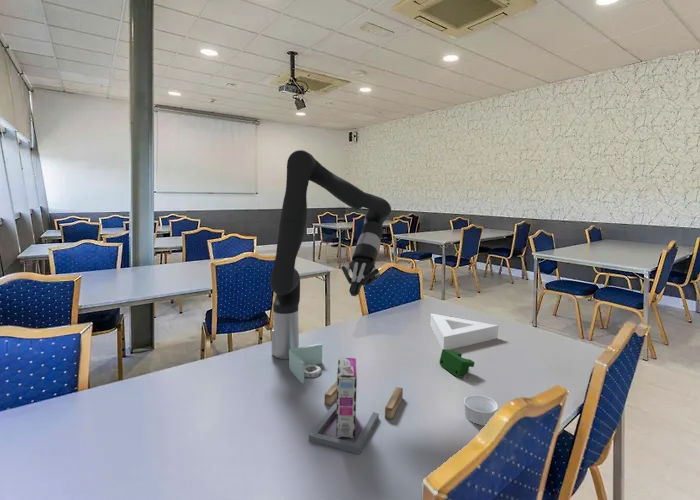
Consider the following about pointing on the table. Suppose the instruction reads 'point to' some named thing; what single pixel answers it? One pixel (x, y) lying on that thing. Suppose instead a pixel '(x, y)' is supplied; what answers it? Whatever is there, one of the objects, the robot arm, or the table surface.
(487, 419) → the ramekin
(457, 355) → the clamp
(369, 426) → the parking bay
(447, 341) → the triangle block
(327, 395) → the oak rails
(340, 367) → the candy bar box
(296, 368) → the right angle wall
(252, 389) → the table surface
